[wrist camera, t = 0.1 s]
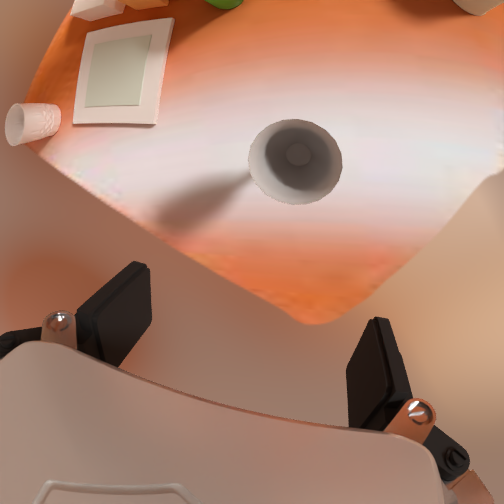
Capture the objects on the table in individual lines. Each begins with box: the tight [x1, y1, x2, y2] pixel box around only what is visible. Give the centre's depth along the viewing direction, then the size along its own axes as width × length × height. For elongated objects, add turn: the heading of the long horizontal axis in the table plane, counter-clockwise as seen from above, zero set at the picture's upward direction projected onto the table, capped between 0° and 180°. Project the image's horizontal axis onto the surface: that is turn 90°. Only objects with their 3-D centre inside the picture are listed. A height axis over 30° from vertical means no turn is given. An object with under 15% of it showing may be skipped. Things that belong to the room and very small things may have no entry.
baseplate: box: [73, 18, 175, 124], centre depth 36 cm, size 18×18×1 cm
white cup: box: [5, 103, 61, 146], centre depth 37 cm, size 8×8×10 cm
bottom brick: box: [70, 0, 125, 21], centre depth 28 cm, size 6×8×6 cm
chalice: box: [248, 119, 342, 205], centre depth 29 cm, size 7×7×18 cm
